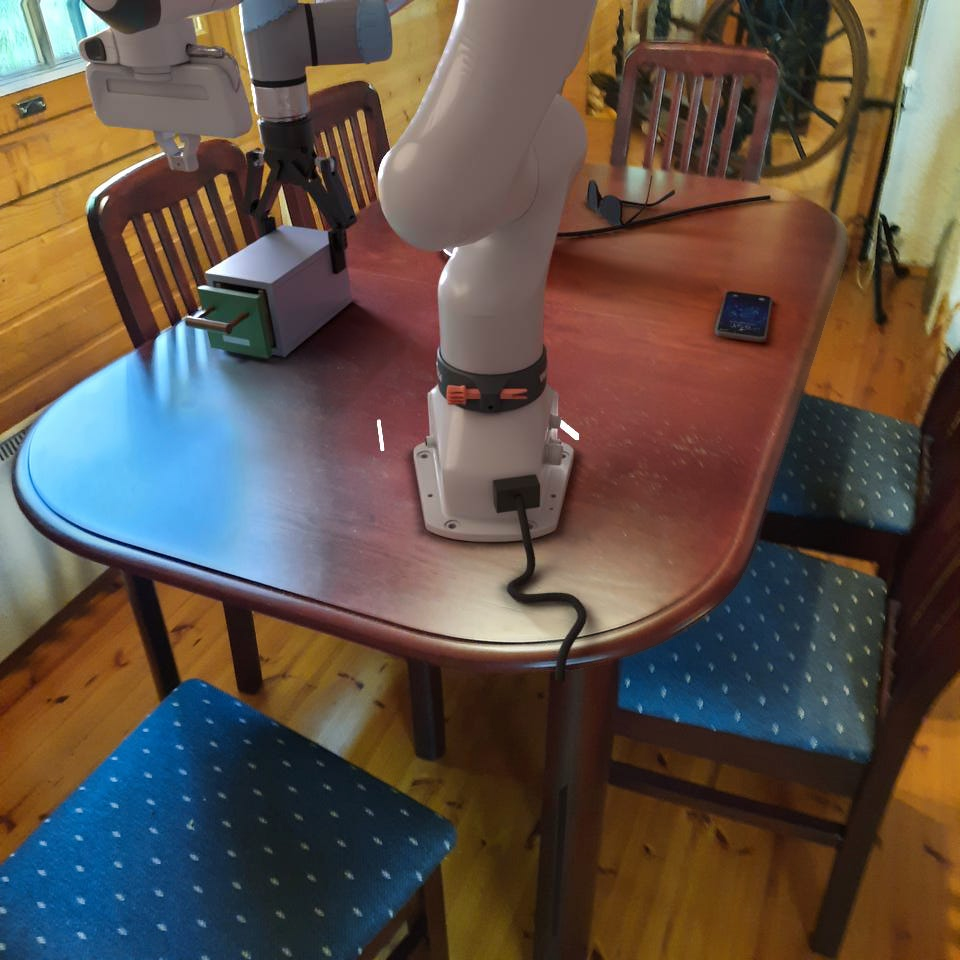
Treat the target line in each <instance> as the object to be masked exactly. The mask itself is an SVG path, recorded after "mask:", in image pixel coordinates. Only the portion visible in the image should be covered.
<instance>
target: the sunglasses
mask: <svg viewBox="0 0 960 960" xmlns="http://www.w3.org/2000/svg"><path fill="white" fill-rule="evenodd" d="M652 181H653V175H650V178H649V184H648V191H647V196H646V200H645V202H644V203H641V202H635V201H629V200H623V199H620V198H619V197H617V196H615V195H613V194H605V195H604V196H603V197H602V194H601V193H600V190H599V186H598V184H597V181H595V180H594V179H590V180H589V181H588V185H587V191H586V196H585V200H586V203H587V204H588V206H589V207H590V208H591V209H592V210H593V211H594V212H596V213H597V214H598V215H599V216H601V218H603V219H604V220H605V221H607V222H608V223H609V224H611V225H613V226H616V225H624V224H627V223H629V222H633V221H635V219H636V218H638V217H639V216H640V214H642V212H643V211H644V210H645V209H646V208H652V207H656V206H658V205H659V204H660V205H661V203H664V202H665V201H666V200H668V199H669V198H671V197H673V196H675V194H676V189H672V190H671V191H670V192H668V193H667V194H666V195H664V196H663V197H661V198H660V199H658V200H657V201H655V202H652V203H648V202H649V198H650V197H649V196H650V192H651V187H652ZM623 205H629V206H635V207H641V208H640V209H639V210H638V211H637V212H636V213H635V214H634V215H633V216H631V217H630V218H629V219H628V220H626V221H625V222H624V221H623V215H624V208H623V207H624V206H623Z"/></svg>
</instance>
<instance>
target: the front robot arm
mask: <svg viewBox="0 0 960 960" xmlns="http://www.w3.org/2000/svg"><path fill="white" fill-rule="evenodd" d="M243 1H244V0H81V2H82V3H83V4H84V5H85V7H86V8H87V9H88V10H89V11H90V12H91V13H93V15H94V16H96V17H97V18H98V19H99V20H101V22H103V23H104V24H106V25H108V26H109V27H107V28H105V29H103V30H101V31H99V32H97V33H95V34H92V35H90V36H87V37H85V38H82V39H81V40H80V41H78V43H77V47H78V52H79V54H80V57H81V59H82V60H83V61H84V62H87V64H86V66H85V80H86V85H87V88H88V93H89V97H90V100H91V104H92V107H93V110H94V114H95V115H96V118H98V120H99V121H100V122H101V123H102V125H104V126H105V127H111V128H119V129H120V128H121V129H130V130H141V131H150V132H152V133H153V137H154V141H155V142H156V143H157V145H158V146H159V148H160V149H161V150H162V152H163V153H164V155H165V156H166V157H167V161H168V166H169V169H170V170H171V171H182V172H189V173H193V172H195V171H197V170H198V169H199V162H198V157H197V154H198V152H199V151H198V150H199V148H200V144H201V142H202V141H201V140H202V137H209V138H221V139H230V140H234V139H237V138H240V137H242V136H244V135H247V134H248V133H249V132H250V131H251V129H252V127H253V123H254V122H253V121H254V120H253V116H252V115H253V114H252V110H251V107H250V102H249V99H248V95H247V92H246V89H245V85H244V83H243V79H242V77H241V71H240V65H239V62H238V60H237V59H236V58H235V57H234V56H233V55H232V54H231V53H230V52H228V51H227V50H226V49H225V48H224V47H222V46H219V45H212V46H207V45H201V44H199V42H198V37H197V32H196V28H195V21H194V19H195V18H199V17H202V16H206V15H212V14H216V13H220V12H225V11H228V10H231V9H232V8H234V7H237V6H239V4H241V3H242V2H243ZM598 3H599V0H458V4H457V8H456V13H455V17H454V20H453V24H452V26H451V30H450V33H449V36H448V39H447V42H446V44H445V47H444V50H443V52H442V54H441V57H440V59H439V61H438V63H437V66H436V68H435V71H434V73H433V75H432V78H431V80H430V82H429V84H428V87H427V89H426V91H425V93H424V95H423V97H422V100H421V101H420V104H419V106H418V108H417V110H416V112H415V114H414V116H413V117H412V119H411V121H410V123H409V124H408V126H407V127H406V129H405V130H404V132H403V133H402V135H401V136H400V137H399V139H398V140H396V142H395V144H394V145H392V147H391V148H390V149H389V150H388V151H387V152H386V154H385V156H384V157H383V159H382V160H381V163H380V165H379V168H378V169H379V170H378V174H377V194H378V200H379V204H380V205H379V206H380V207H381V211H382V213H383V216H384V218H385V219H386V222H387V223H388V225H389V226H390V227H391V229H392V230H393V232H394V233H395V234H396V235H397V236H398V237H399V238H400V239H401V240H402V241H403V242H404V243H406V244H407V245H409V246H410V247H412V248H414V249H416V250H419V251H422V252H427V253H428V252H429V253H432V252H441V251H443V250H447V249H452V248H454V249H453V252H452V254H451V256H450V258H449V260H447V262H446V263H445V265H444V267H443V269H442V271H441V274H440V277H439V280H438V285H437V307H438V324H439V326H438V327H439V340H440V341H439V342H440V343H439V344H440V345H439V346H438V348H437V354H436V356H437V358H436V363H435V364H436V376H437V384H436V385H435V387H434V386H433V388H432V389H431V390H430V391H428V392H427V406H428V407H427V409H428V424H429V435H426V436H425V438H424V442H422V443H419V444H417V445H416V446H415V447H414V448H413V454H412V455H413V457H412V458H413V464H414V470H415V475H416V476H415V477H416V480H417V487H418V492H419V498H420V499H419V500H420V503H421V504H420V505H421V510H422V516H423V522H424V526H425V529H426V530H427V531H428V532H429V533H432V534H434V535H437V536H440V537H443V538H448V539H452V540H457V541H466V542H477V543H478V542H480V543H500V542H501V543H502V542H503V543H506V542H518V541H522V542H523V543H522V544H523V547H524V552H525V556H526V567H525V570H524V572H523V573H522V574H521V575H520V576H518V577H516V578H514V579H513V580H511V581H510V582H508V584H507V587H506V591H507V594H508V595H509V596H510V597H511V598H512V599H513V600H515V601H516V602H520V603H524V604H536V603H537V604H538V603H551V602H562V603H567V604H569V605H571V606H572V607H573V608H574V610H575V612H576V616H577V618H576V620H575V622H574V624H573V625H572V627H571V628H570V629H569V631H568V633H567V634H566V636H565V637H564V638H563V641H562V643H561V645H560V648H559V650H558V653H557V657H556V662H555V663H556V664H555V679H554V680H555V681H556V682H557V683H558V684H561V683H564V682H565V680H566V668H567V660H568V656H569V653H570V652H571V649H572V647H573V645H574V643H575V641H576V640H577V638H578V636H579V635H580V634H581V632H582V630H583V629H584V627H585V625H586V622H587V616H588V615H587V614H588V613H587V610H586V608H585V605H584V604H583V603H582V602H581V600H580V599H578V598H577V597H576V596H575V595H573V594H570V593H568V592H567V593H566V592H557V591H555V592H540V593H523V592H520V591H518V590H517V588H519V587H520V586H522V585H525V583H527V582H529V581H530V580H531V579H532V577H533V576H534V574H535V570H536V554H535V549H534V545H533V541H532V539H536V538H539V537H543V536H546V535H548V534H550V533H552V532H554V531H556V530H557V527H558V525H559V520H560V518H561V517H560V516H561V512H562V508H563V504H564V500H565V497H566V492H567V488H568V483H569V480H570V476H571V472H572V469H573V468H572V467H573V464H574V459H575V450H574V447H573V446H571V445H570V444H568V443H566V442H563V441H561V439H560V438H558V430H560V429H562V430H563V431H565V432H566V433H567V434H568V435H570V436H571V437H572V439H574V440H576V441H577V440H578V441H579V439H580V438H579V437H580V435H579V433H578V432H577V431H575V429H573V428H572V427H570V425H568V424H567V423H566V422H565V421H563V420H562V416H559V392H557V391H556V390H555V389H554V388H553V387H552V386H551V385H550V384H549V383H548V382H547V379H548V367H549V361H548V356H547V355H548V354H547V353H548V351H547V347H546V345H545V344H544V330H545V329H544V327H545V307H546V306H545V305H546V288H547V281H548V280H547V279H548V275H549V268H550V264H551V263H550V262H551V260H552V256H553V251H554V248H555V245H556V240H557V238H558V237H557V233H558V232H559V229H560V226H561V222H562V217H563V213H564V210H565V207H566V203H567V201H568V199H569V195H570V192H571V189H572V187H573V185H574V183H575V181H576V179H577V177H578V176H579V174H580V172H581V170H582V169H583V166H584V164H585V162H586V159H587V155H588V147H589V146H588V145H589V141H588V132H587V127H586V124H585V122H584V119H583V117H582V115H581V114H580V112H579V110H578V109H577V108H576V107H575V105H574V104H573V103H572V101H570V100H568V99H567V98H566V97H564V96H563V95H562V94H561V95H559V94H557V93H558V91H559V89H560V88H561V86H562V85H563V83H564V82H565V83H566V82H567V79H568V78H569V77H570V76H571V75H572V73H574V70H575V69H576V68H577V67H578V64H579V62H580V60H581V58H582V56H583V53H584V51H585V48H586V44H587V39H588V37H589V33H590V31H591V27H592V23H593V20H594V16H595V13H596V9H597V5H598ZM176 134H178V139H179V142H180V143H182V144H183V148H182V149H183V150H182V151H181V150H180V149H181V148H180V147H179V146H178V145H177V143H176V141H175V139H174V137H176ZM377 429H378V436H379V437H378V439H379V445H380V451H381V452H382V451H385V447H384V440H383V432H382V425H381V419H378V420H377ZM568 790H569V784H568V783H566V785H564V786H563V787H561V789H559V790H558V807H557V826H556V845H555V860H554V873H553V874H554V875H553V887H552V889H553V890H552V903H551V904H552V905H551V922H550V924H551V925H550V935H551V936H553V937H557V936H558V935H559V925H560V911H561V909H560V908H561V896H562V880H563V869H564V857H565V856H564V855H565V846H566V845H565V843H566V832H567V831H566V830H567V813H568V811H567V810H568V795H569V791H568Z"/></svg>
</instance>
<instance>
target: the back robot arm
mask: <svg viewBox="0 0 960 960" xmlns="http://www.w3.org/2000/svg"><path fill="white" fill-rule="evenodd" d="M414 1H415V0H314V1H313V2H311V3H310V2H306V3H304V2H299V0H244V1H243V2H242V3H241V4H239V5H238V10H239V17H240V26H241V33H242V39H243V45H244V50H245V56H246V62H247V65H248V66H247V67H248V72H249V78H250V82H251V83H250V85H251V91H252V92H251V93H252V97H253V98H252V99H253V105H254V111H255V114H256V115H257V116H258V117H259V118H258V119H257V128H258V133H259V139H260V144H261V146H263V150H262V149H261V148H260V147H255V148H253V149H251V150H249V151H246V152H245V160H246V166H247V171H246V181H245V188H244V198H243V205H242V212H243V213H242V214H244V215H245V216H251V217H252V218H253V219H254V220H255V222H256V225H257V226H256V227H257V232H258V237H259V239H260V238H262V237H264V236H265V235H267V234H269V233H270V232H272V231H273V230H275V229H277V228H278V227H277V222H276V217H275V216H271V215H272V214H273V212H271V211H272V209H273V207H274V204H275V202H276V200H277V197H278V195H279V194H280V190H281V188H282V186H283V185H289V184H291V185H294V186H298V187H301V188H302V190H303V191H304V192H306V193H308V195H309V196H310V198H311V199H312V201H313V202H314V204H315V206H316V207H317V209H318V210H319V212H320V213H321V214H322V216H323V218H324V219H325V221H326V222H327V223H328V225H329V227H330V228H331V229H329V230H327V231H328V239H329V247H330V254H331V262H332V269H333V274H338V273H340V272H341V271H342V270H344V269H345V268H346V261H345V253H344V251H345V250H346V251H347V249H348V247H349V243H348V234H347V230H348V229H350V228H351V227H352V226H354V225H355V224H357V222H358V218H357V215H356V213H355V210H354V208H353V205H352V203H351V201H350V199H349V196H348V194H347V191H346V188H345V186H344V184H343V181H342V179H341V176H340V174H339V170H338V161H337V158H336V156H335V155H333V154H332V155H331V154H330V155H329V156H327V157H326V156H319V155H318V154H317V152H316V150H315V139H316V137H315V129H314V123H313V117H312V115H310V112H311V102H310V93H309V86H308V77H307V72H306V71H307V70H306V69H307V67H321V66H339V65H359V64H365V65H370V64H373V63H378V62H379V63H380V62H386V61H388V60H390V59H391V57H392V55H393V48H394V47H393V46H394V45H393V28H392V21H391V17H393V16H394V15H395V14H397V13H398V12H400V11H401V10H402V9H404V8H406V6H408V5H409V4H411V3H413V2H414ZM565 85H566V81H565V82H564V83H563V85H562V86H561V88H560V89H559V91H558V93H557V94H559V95H561V96H562V94H563V90H564V87H565ZM265 164H266V165H267V167H268V168H269V169H270V170H269V173H268V176H267V177H266V184H265V187H264V188H263V191H262V186H263V179H264V172H265ZM317 168H318V171H317V170H316V169H317ZM320 174H321V176H320ZM310 180H311V181H310ZM771 198H772V197H771V195H770V194H769V195H768V194H767V195H759V196H753V197H746V198H738V199H732V200H726V201H720V202H715V203H708V204H704V205H699V206H694V207H689V208H685V209H684V208H683V209H680V210H676V211H671V212H667V213H662V214H658V215H655V216H650V217H646V218H642V219H638V220H633V221H632V222H629V223H627V224H624V225H612V226H606V227H601V228H595V229H587V230H586V229H585V230H578V231H564V232H563V231H562V232H559V231H558V233H557V237H556V238H571V237H583V236H589V235H596V234H597V235H598V234H602V233H607V232H608V233H609V232H614V231H619V230H624V229H628V228H631V227H635V226H640V225H644V224H649V223H653V222H657V221H660V220H664V219H668V218H673V217H677V216H681V215H685V214H691V213H695V212H699V211H700V212H701V211H705V210H709V209H715V208H721V207H726V206H731V205H733V206H734V205H740V204H747V203H754V202H760V201H769V200H771ZM453 249H454V248H452V249H447V250H442V255H443V257H444V258H445V259H446V260H447V261H448V260H449V258H450V256H451V254H452V252H453Z"/></svg>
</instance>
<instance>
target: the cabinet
mask: <svg viewBox="0 0 960 960" xmlns="http://www.w3.org/2000/svg"><path fill="white" fill-rule="evenodd" d="M276 228H277V229H275V230H273V231H272V232H270V233H269V234H267V235H265V236H264V237H262V238H260V237H259V238H258V239H257V240H256V241H254V242H252V243H251V244H249V245H247V246H246V247H244V248H243V249H241V250H239V251H238V252H236V253H234V254H233V255H231V256H229V257H228V258H226V259H225V260H223V261H221V262H220V263H218V264H216V265H215V266H213V267H212V268H210V269H208V270H207V271H205V272H204V275H205V279H206V283H207V284H206V285H207V286H210V287H216V283H218V282H224V283H230V284H236V285H242V286H248V287H254V288H260V289H266V291H267V297H268V302H269V308H270V313H271V318H272V324H273V329H274V335H275V340H276V344H275V345H273V346H271V349H272V354H273V355H272V356H278V357H283V358H285V357H286V356H288V355H289V354H290V353H291V352H293V351H294V350H295V349H296V348H297V347H299V346H300V345H301V344H302V343H304V341H306V340H307V339H308V338H310V337H311V336H312V335H313V334H315V333H316V332H317V331H318V330H319V329H320V328H322V327H323V326H325V324H326V323H328V322H329V321H330V320H332V319H333V318H334V317H335V316H336V315H338V314H339V313H340V312H341V311H342V310H344V309H345V308H346V307H348V305H350V304H351V303H352V302H353V297H352V292H351V283H350V282H351V281H350V275H349V274H350V273H349V265H348V258H347V257H348V256H347V249H346V250H345V251H344V253H345V261H346V268H345V269H344V270H342V271H341V272H340V273H338V274H333V269H332V262H331V254H330V247H329V239H328V231H329V230H322V229H315V228H307V227H301V226H294V225H288V224H287V225H286V224H282V225H280V226H279V227H276Z"/></svg>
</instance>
